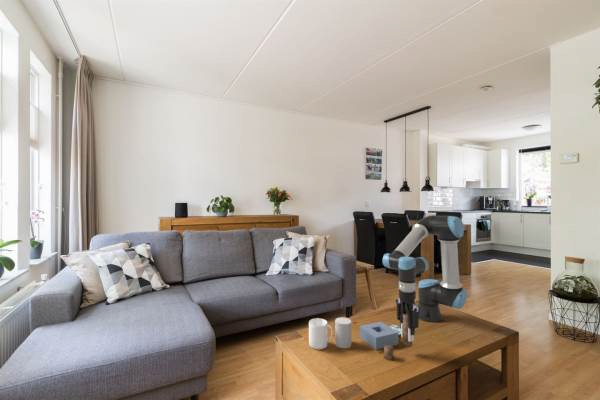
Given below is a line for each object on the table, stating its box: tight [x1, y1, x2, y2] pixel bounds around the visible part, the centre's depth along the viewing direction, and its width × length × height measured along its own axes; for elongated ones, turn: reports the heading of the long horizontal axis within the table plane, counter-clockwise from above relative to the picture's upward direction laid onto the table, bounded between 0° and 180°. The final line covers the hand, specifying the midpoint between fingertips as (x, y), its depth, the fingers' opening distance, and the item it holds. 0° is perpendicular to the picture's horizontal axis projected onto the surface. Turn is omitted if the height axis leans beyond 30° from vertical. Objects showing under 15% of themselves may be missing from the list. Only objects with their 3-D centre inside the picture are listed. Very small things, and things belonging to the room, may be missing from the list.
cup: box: [334, 316, 352, 349], centre depth 146 cm, size 8×8×12 cm
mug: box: [308, 317, 334, 351], centre depth 145 cm, size 10×12×12 cm
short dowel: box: [383, 345, 394, 361], centre depth 133 cm, size 4×4×5 cm
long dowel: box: [402, 313, 413, 347], centre depth 136 cm, size 4×4×14 cm
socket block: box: [359, 321, 400, 351], centre depth 149 cm, size 14×14×6 cm
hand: (407, 338), depth 137 cm, fingers closed on long dowel, 4 cm apart
